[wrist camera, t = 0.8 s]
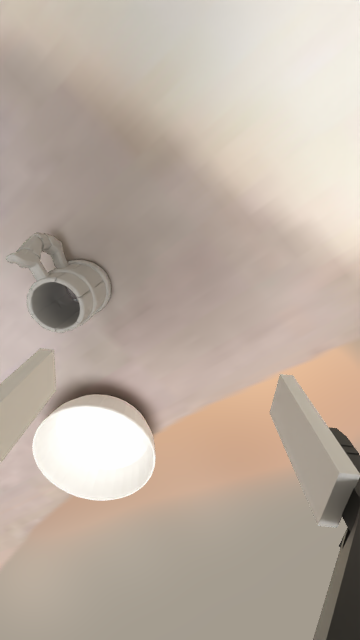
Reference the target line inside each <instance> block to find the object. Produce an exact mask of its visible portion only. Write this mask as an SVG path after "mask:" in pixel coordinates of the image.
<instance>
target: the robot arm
mask: <svg viewBox="0 0 360 640" xmlns="http://www.w3.org/2000/svg"><path fill="white" fill-rule="evenodd" d="M55 391H56V379H55V361H54V350H50V349H41V348H40V349H39V350H38V351H37V352H36V353H35V354H34V355H33V356H31V357H30V358H29V359H28V360H27V361H26V362H25V363H23V364H22V365H21V366H20V367H19V368H18V369H17V370H16V371H14V372H13V373H12V374H11V375H10V376H9V377H8V378H6V379H5V380H4V381H3V382H2V383H1V384H0V463H1V462H2V461H3V459H4V458H5V457H6V455H7V454H8V453H9V452H10V450H11V449H12V448H13V446H14V445H15V444H16V442H17V441H18V440H19V438H20V437H21V436H22V435H23V433H24V432H25V431H26V429H27V428H28V427H29V425H30V424H31V423H32V421H33V420H34V419H35V418H36V416H37V415H38V414H39V412H40V411H41V410H42V408H43V407H44V406H45V404H46V403H47V402H48V401H49V399H50V398H51V397H52V395H53V394H54V393H55ZM270 415H271V417H272V419H273V422H274V424H275V427H276V429H277V431H278V434H279V436H280V438H281V440H282V443H283V445H284V447H285V450H286V452H287V455H288V457H289V459H290V462H291V464H292V466H293V469H294V471H295V473H296V476H297V478H298V480H299V483H300V485H301V487H302V490H303V492H304V494H305V497H306V499H307V501H308V504H309V506H310V508H311V511H312V513H313V516H314V518H315V520H316V522H317V525H318V526H328V527H338V525H339V522H340V520H341V518H342V517H343V519H344V521H345V523H346V525H347V526H348V528H347V530H346V532H345V535H344V536H343V539H342V541H341V543H340V545H339V547H341V548H340V552H339V555H338V558H337V562H336V565H335V568H334V572H333V575H332V578H331V582H330V585H329V588H328V592H327V595H326V598H325V602H324V605H323V609H322V612H321V615H320V619H319V622H318V625H317V628H316V632H315V635H314V638H313V640H360V455H359V453H358V452H357V450H356V449H355V448H354V447H353V445H352V443H351V442H350V441H349V440H348V438H347V437H346V436H345V435H344V434H343V433H342V432H340V431H339V430H338V429H337V428H328V426H327V425H326V423H325V422H324V421H323V419H322V417H321V416H320V414H319V413H318V412H317V410H316V409H315V408H314V406H313V404H312V403H311V401H310V400H309V398H308V397H307V395H306V394H305V392H304V391H303V390H302V388H301V386H300V385H299V384H298V382H297V381H296V379H295V378H294V376H292V375H283V374H280V376H279V380H278V384H277V388H276V391H275V395H274V399H273V402H272V406H271V410H270Z"/></svg>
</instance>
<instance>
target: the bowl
mask: <svg viewBox="0 0 360 640" xmlns="http://www.w3.org/2000/svg"><path fill="white" fill-rule="evenodd" d="M32 448H33V456H34V459H35V461H36V464H37V466H38V468H39V469H40V471H41V472H42V474H43V475H44V476H45V477H46V478H47V479H48V480H49V481H50V482H51V483H53V484H54V485H55V486H57V487H58V488H60V489H61V490H63V491H65V492H67V493H69V494H72V495H74V496H77V497H81V498H86V499H90V500H113V499H118V498H123V497H125V496H128V495H131V494H133V493H134V492H136V491H137V490H139V489H140V488H141V487H142V486H144V485H145V484H146V482H147V481H148V480H149V478H150V477H151V475H152V473H153V469H154V467H155V457H156V456H155V446H154V439H153V434H152V432H151V430H150V427H149V425H148V424H147V423H146V420H145V419H144V417H143V416H142V415H141V413H140V412H139V411H138V410H137V409H136V408H135V407H133V406H132V405H130V404H129V403H127V402H126V401H124V400H121V399H119V398H117V397H113V396H109V395H100V394H95V395H86V396H82V397H79V398H77V399H73V400H70V401H68V402H66V403H64V404H62V405H61V406H60V407H58V408H57V409H56V410H54V411H53V412H52V413H51V414H50V415H49V416H48V417H47V418H46V419H44V420H43V422H42V423H41V424H40V426H39V427H38V428H37V431H36V433H35V435H34V438H33V446H32Z"/></svg>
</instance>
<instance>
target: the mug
mask: <svg viewBox="0 0 360 640" xmlns="http://www.w3.org/2000/svg"><path fill="white" fill-rule="evenodd" d="M42 251H43V252H46V253H47V254H49V255H51V257H52V259H53V262H54V265H55V267H56V269H54V270H51V271H50V272H48V273H47V271H46V270H45V268H44V267H43V265H42V263H41V261H40V258H41V253H42ZM6 260H7V261H8V262H10V263H16V264H18V265H19V266H20V267H22V268H29V269H30V271H31V272H32V274H33V276H34V277H35V279H36V281H37V282H35V283H34V284H33V285H32V287H31V289H29V293H28V295H27V307H28V311H29V313H30V315H32V316H31V317H32V318H33V319H35V320H36V321H37V322H38V324H39V325H40V326H42V327H43V328H45V329H47V330H49V331H51V332H56V333H64V332H66V331H70V330H73V329H75V328H76V327H78V326H81V325H83V324H84V323H85V322H87V321H88V320H89V319H90V318H91V317H92V316H93V315H94V314H96V313H97V312H99V311H100V310H102V309H103V308H104V307H105V306H106V304H107V303H108V301H109V298H110V295H111V283H110V280H109V278H107V277H108V275H107V274H106V272H105V271H104V270H103V269H102V268H101V267H99V266H98V265H96V264H94V263H92V262H89V261H86V260H73V261H68V262H67V261H66V258H65V256H64V253H63V246H62V243H61V242H60V241H59V240H57V239H56V237H55V236H52V235H48V234H45V233H44V234H42V233H35V234H33V235H32V236H31V237H30V238H29V239H28V240H26V242H24V243H23V245H22V246H21V247H20V248H19V249H18V250H17V251H16V253H12V254H10V255H8V256H7V257H6ZM66 287H68V288H69V289H70V290H72V292H73V293H74V294H75V295H76V297H77V298H78V299H72V298H71V296H70V295H69V293H68V291H67V289H66ZM76 301H78V302H79V303H77V302H76Z"/></svg>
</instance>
